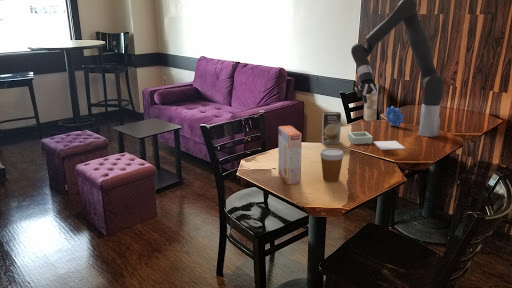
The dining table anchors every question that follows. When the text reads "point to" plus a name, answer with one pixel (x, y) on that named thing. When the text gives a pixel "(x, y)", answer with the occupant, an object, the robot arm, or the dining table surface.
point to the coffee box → (331, 127)
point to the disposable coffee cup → (331, 164)
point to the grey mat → (388, 145)
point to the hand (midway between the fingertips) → (371, 102)
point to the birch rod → (370, 107)
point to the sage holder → (359, 137)
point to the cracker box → (290, 154)
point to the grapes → (394, 116)
